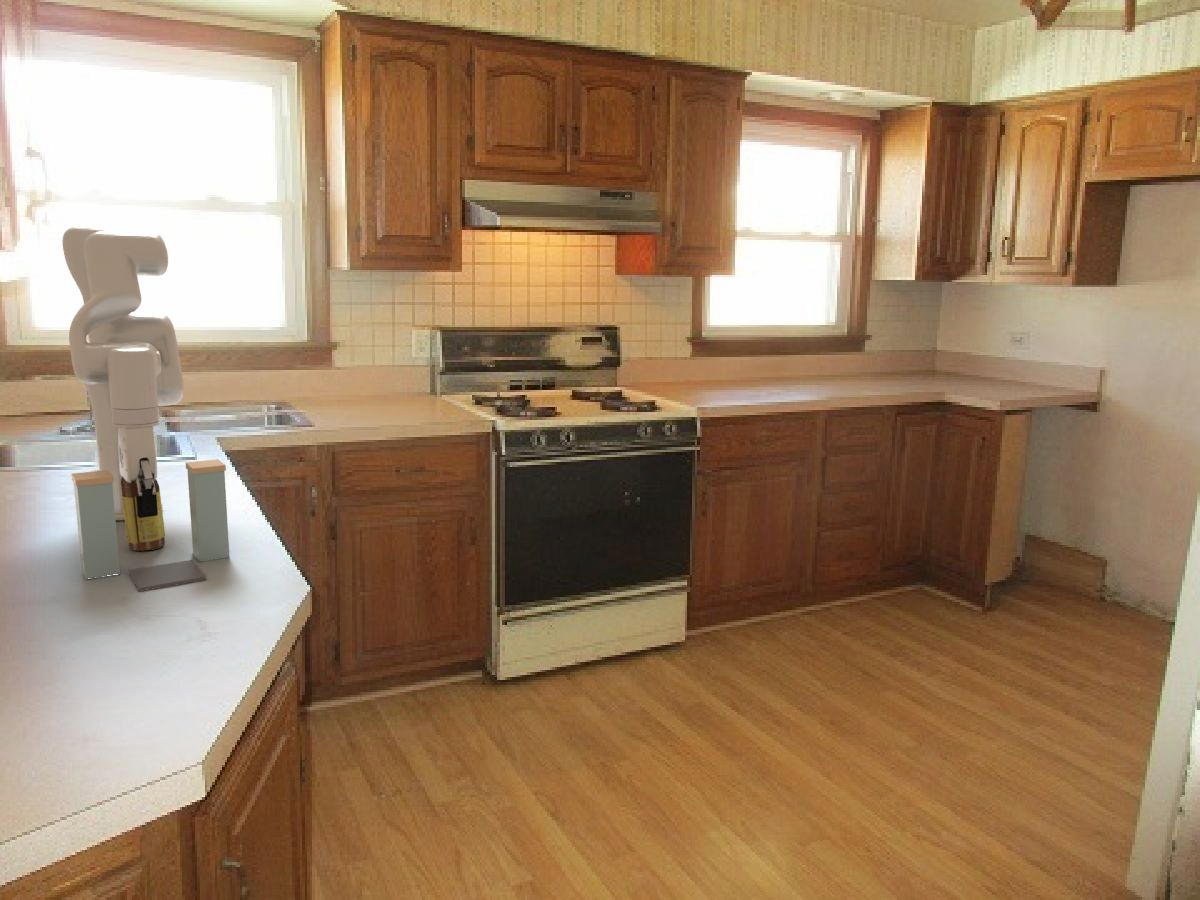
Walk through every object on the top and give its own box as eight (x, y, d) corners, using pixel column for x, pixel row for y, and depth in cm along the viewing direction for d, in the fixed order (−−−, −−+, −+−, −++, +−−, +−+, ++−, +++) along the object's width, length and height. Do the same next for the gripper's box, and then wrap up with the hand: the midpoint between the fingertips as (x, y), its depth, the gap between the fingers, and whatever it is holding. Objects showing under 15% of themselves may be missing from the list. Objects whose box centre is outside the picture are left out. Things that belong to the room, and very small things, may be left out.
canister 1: (80, 571, 148) (71, 473, 145) (116, 565, 152) (108, 470, 148) (84, 580, 144) (75, 480, 141) (121, 574, 147) (113, 476, 144)
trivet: (128, 573, 148) (128, 569, 148) (192, 563, 154) (191, 559, 154) (139, 591, 140) (138, 587, 140) (205, 579, 146) (205, 576, 146)
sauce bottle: (171, 542, 165) (164, 438, 161) (156, 553, 159) (148, 445, 155) (136, 541, 165) (127, 437, 161) (119, 552, 158) (110, 444, 154)
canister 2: (191, 554, 159) (185, 462, 155) (223, 549, 162) (217, 459, 158) (198, 562, 154) (192, 468, 151) (230, 557, 158) (225, 465, 154)
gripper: (104, 411, 161) (112, 502, 165) (120, 426, 148) (128, 525, 151) (149, 408, 166) (156, 497, 169) (168, 422, 152) (175, 519, 156)
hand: (143, 510), depth 160 cm, fingers open, 8 cm apart
